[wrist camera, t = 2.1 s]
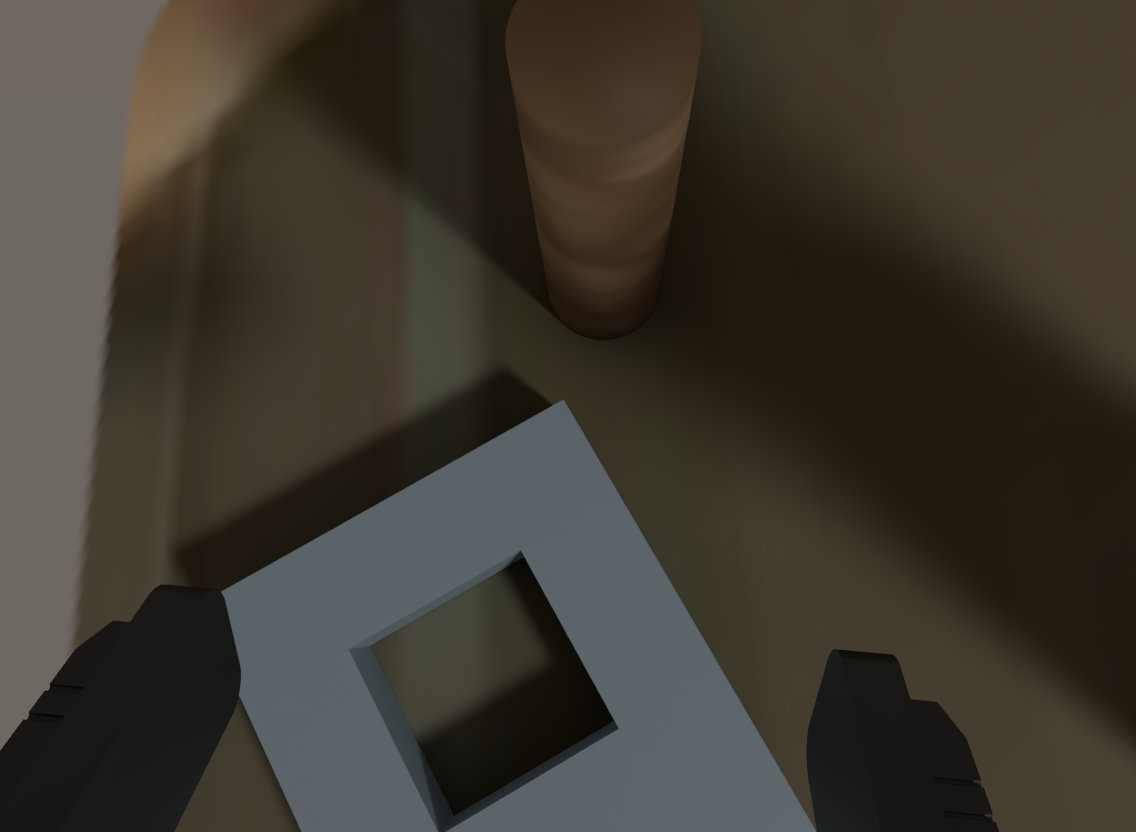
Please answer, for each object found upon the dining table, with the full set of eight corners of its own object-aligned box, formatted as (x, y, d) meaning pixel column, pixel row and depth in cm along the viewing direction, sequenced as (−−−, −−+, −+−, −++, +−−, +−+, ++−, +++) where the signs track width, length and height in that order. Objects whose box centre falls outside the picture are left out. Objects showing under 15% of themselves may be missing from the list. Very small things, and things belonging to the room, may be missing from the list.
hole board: (566, 416, 31) (563, 399, 28) (895, 979, 26) (924, 1016, 24) (231, 605, 30) (197, 604, 27) (516, 1219, 25) (507, 1283, 23)
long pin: (623, 215, 32) (637, -78, 18) (680, 305, 31) (739, 68, 18) (527, 267, 32) (470, 9, 18) (582, 359, 31) (566, 161, 17)
